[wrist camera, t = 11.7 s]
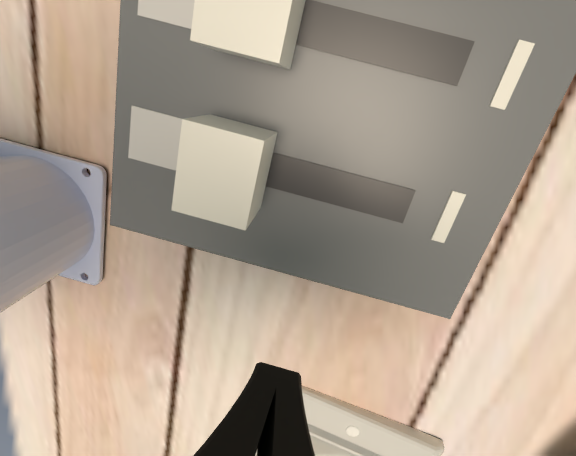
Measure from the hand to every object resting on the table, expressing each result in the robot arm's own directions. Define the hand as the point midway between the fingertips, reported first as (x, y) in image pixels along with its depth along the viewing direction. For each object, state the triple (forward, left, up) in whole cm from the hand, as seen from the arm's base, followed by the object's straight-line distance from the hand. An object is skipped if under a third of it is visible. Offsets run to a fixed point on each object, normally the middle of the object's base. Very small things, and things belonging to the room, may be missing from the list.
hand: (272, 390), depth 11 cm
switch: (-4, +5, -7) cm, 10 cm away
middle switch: (-4, +11, -7) cm, 14 cm away
